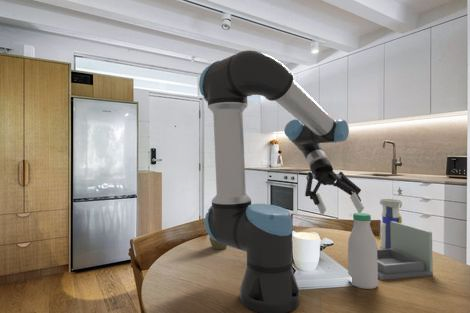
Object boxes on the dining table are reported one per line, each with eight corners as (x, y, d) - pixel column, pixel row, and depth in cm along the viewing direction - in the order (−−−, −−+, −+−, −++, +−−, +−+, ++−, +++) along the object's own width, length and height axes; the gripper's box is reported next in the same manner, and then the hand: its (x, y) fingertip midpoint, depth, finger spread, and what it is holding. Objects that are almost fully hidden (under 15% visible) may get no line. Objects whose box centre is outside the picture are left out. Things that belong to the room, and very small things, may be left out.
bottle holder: (381, 280, 81) (380, 235, 81) (349, 260, 96) (348, 223, 97) (432, 275, 84) (432, 232, 84) (393, 257, 100) (392, 221, 100)
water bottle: (405, 247, 112) (404, 186, 112) (401, 252, 105) (400, 187, 106) (382, 243, 117) (382, 185, 118) (378, 248, 110) (377, 186, 111)
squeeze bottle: (233, 246, 113) (232, 203, 113) (221, 252, 106) (221, 205, 106) (217, 243, 117) (217, 201, 118) (205, 248, 110) (205, 204, 111)
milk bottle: (381, 291, 74) (380, 216, 74) (351, 288, 75) (350, 215, 76) (373, 279, 81) (372, 211, 82) (345, 277, 83) (345, 211, 83)
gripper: (344, 171, 109) (371, 216, 94) (285, 171, 104) (303, 219, 89) (353, 157, 104) (382, 203, 89) (291, 157, 99) (311, 205, 84)
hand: (342, 211), depth 89 cm, fingers open, 13 cm apart
